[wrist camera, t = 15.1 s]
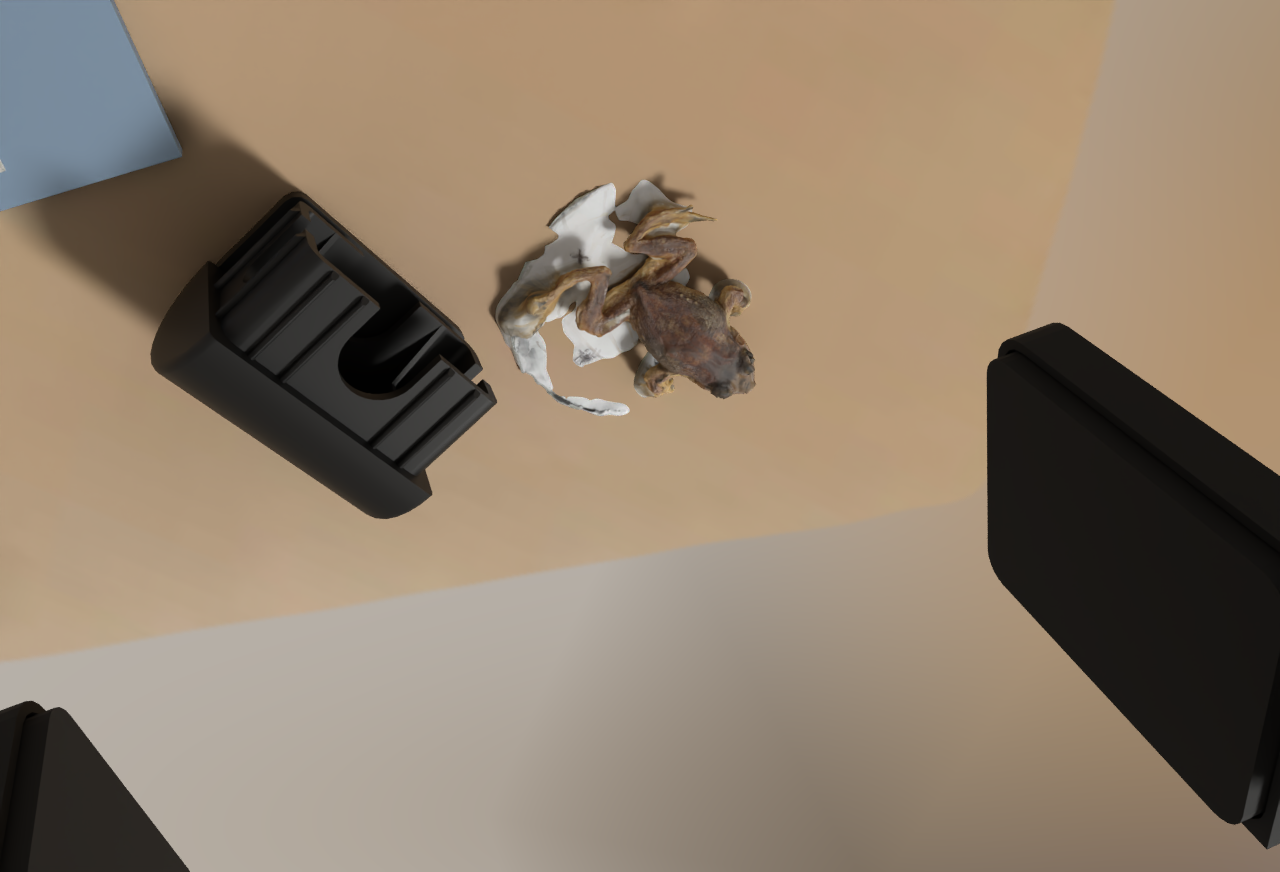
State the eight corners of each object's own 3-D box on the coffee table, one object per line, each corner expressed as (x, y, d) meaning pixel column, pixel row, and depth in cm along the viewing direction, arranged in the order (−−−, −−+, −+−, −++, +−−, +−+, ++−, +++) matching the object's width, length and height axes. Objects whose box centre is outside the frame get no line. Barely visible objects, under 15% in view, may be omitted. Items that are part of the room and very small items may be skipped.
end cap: (149, 309, 41) (143, 400, 35) (284, 174, 40) (298, 247, 34) (353, 454, 47) (374, 551, 41) (475, 341, 46) (513, 425, 40)
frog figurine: (820, 255, 49) (862, 291, 46) (650, 454, 52) (678, 500, 49) (638, 101, 43) (672, 131, 40) (454, 338, 46) (473, 383, 43)
